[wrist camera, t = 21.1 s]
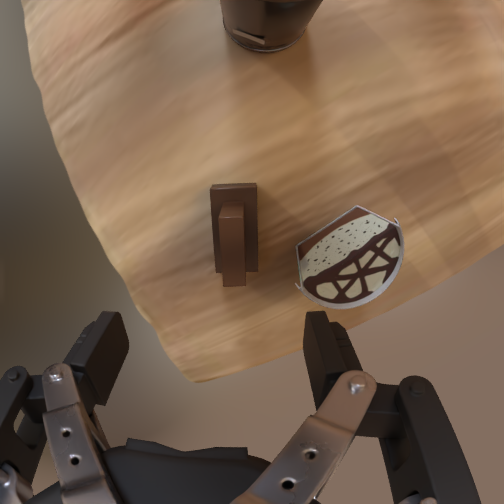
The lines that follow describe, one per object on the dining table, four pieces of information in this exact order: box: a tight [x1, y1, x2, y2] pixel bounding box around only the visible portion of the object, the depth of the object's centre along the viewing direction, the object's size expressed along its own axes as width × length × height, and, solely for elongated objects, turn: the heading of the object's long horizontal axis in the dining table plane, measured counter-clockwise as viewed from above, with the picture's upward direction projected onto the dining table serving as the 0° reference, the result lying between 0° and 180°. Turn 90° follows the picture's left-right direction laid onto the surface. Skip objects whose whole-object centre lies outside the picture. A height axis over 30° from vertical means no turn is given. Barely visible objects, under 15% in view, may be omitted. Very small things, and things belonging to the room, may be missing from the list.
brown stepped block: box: [210, 183, 258, 287], centre depth 31 cm, size 10×5×9 cm, turn 1°
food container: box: [294, 205, 404, 309], centre depth 32 cm, size 12×6×10 cm, turn 125°
